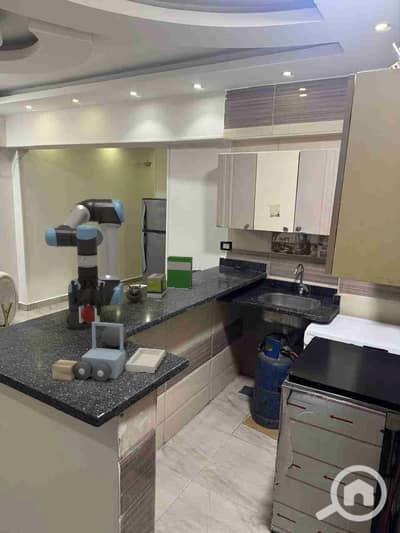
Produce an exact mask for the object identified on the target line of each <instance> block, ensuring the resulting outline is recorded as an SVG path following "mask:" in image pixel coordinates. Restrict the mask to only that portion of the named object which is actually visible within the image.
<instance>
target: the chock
mask: <svg viewBox="0 0 400 533" xmlns="http://www.w3.org/2000/svg"><path fill="white" fill-rule="evenodd" d="M78 363H79V361H75V360H66V359H59V360H58V361H56V362H55V363H53V364H52V366H51V368H52V372H51V374H52V379H54V380H62V381H70V382H71V381H72V380H74V379H75V378H77V377H76V375H75V374H74V367H75V366H76V365H77V364H78Z"/></svg>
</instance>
